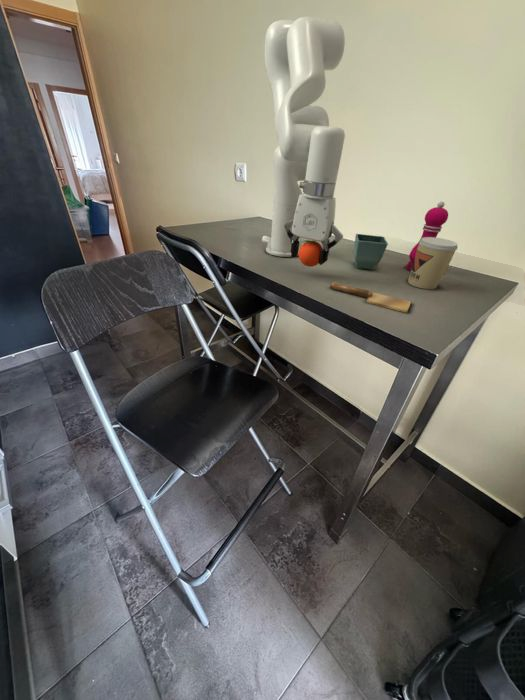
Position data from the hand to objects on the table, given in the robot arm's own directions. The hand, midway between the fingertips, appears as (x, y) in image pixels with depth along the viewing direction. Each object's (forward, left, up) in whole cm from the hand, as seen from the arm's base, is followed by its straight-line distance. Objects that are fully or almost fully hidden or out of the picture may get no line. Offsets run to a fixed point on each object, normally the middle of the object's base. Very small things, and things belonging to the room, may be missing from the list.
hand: (307, 259), depth 81 cm
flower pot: (+12, +19, -5) cm, 23 cm away
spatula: (+19, -5, -5) cm, 20 cm away
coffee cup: (+30, +15, -5) cm, 34 cm away
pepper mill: (+27, +28, -5) cm, 39 cm away
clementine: (0, 0, -2) cm, 2 cm away
